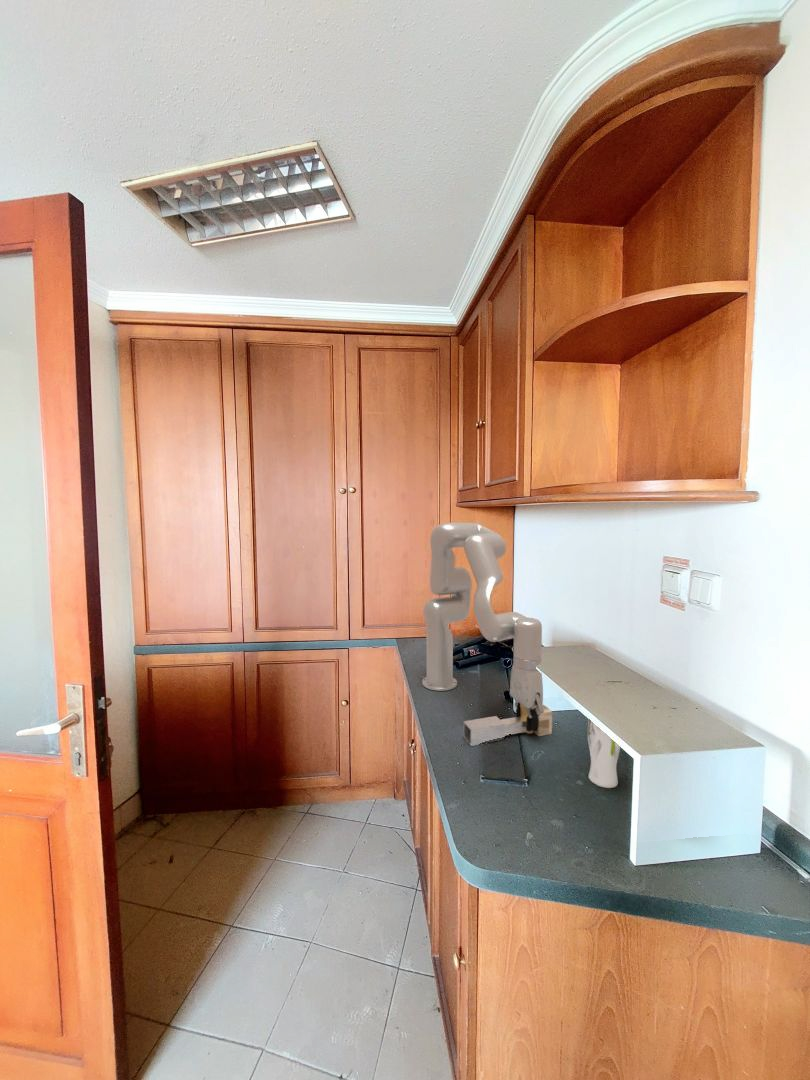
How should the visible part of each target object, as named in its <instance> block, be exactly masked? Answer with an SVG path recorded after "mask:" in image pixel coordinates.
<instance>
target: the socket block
mask: <svg viewBox="0 0 810 1080" xmlns="http://www.w3.org/2000/svg"><path fill="white" fill-rule="evenodd" d="M542 706H543V709H544V713H542V714H540V715H539V717H538V726H537V730H534V731H533V733H534V734H536V735H537V736H538V737H540V736H546V735H547V736H548V735H551V734H553V710H552V709H550V708H549V707H548V706H545V704H542ZM533 711H534V708H533Z"/></svg>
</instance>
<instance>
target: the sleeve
mask: <svg viewBox="0 0 810 1080" xmlns="http://www.w3.org/2000/svg"><path fill="white" fill-rule="evenodd" d="M505 736H506V735H505V724H504V723H503V722H502V721H501V719H500V718H499V717H498V716H497V715H495V716H488V717H483V718H482V717H481V718H476V719H469V720H464V721H463V738H464V739H465V740H466V742H467V743H468V744H469V746H470V747H474V746H475V747H476V746H480V745H479V744H480V743H482V742H485V741H489V740H493V739H497V738H502V737H505Z"/></svg>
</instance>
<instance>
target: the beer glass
mask: <svg viewBox="0 0 810 1080" xmlns="http://www.w3.org/2000/svg"><path fill="white" fill-rule="evenodd" d="M587 722H588V723H587V743H588V748H589V749H588V750H589V754H590V755H589V756H590V767H589V772H588V779H589V781H590V782H592V784H595V786H598V787H600V788H605V789H613V788H616V787H618V784H619V781H618V779H619V778H618V773H617V763H618V761H619V755H620V751H621V746H619V745H618V744H617V743H616V742H614V741H613V740H612V739H611V738H610V737H609V736H608V735H607V734H606V733H604V732H603V731H602V730H601V729H600V728H599V727H597V726H596V725H595V724H594V723H593V722H592V721H591V720H590V719H589V718H588V721H587Z"/></svg>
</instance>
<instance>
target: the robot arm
mask: <svg viewBox="0 0 810 1080" xmlns="http://www.w3.org/2000/svg"><path fill="white" fill-rule="evenodd" d="M429 538H430V539H429V540H430V541H429V543H430V551H431V561H430V576H429V588H430V591H431V592H432V594H434V595H435V596H441V597H435V598H432V599H429V600H428V601H427V602H426V603H425V604H424V606H423V617H424V618H423V619H424V621H425V632H426V634H425V635H426V637H425V638H426V639H425V640H426V676H425V677H423V678H422V680H421V682H422V683H421V685H423V687H424V688H426V689H427V690H431V691H436V692H442V691H443V692H445V691H450V690H454V689H455V688H456V687H458V686H457V685H458V680H457V679H456V678H454V677H453V675H454V669H453V668H454V665H453V664H454V659H453V658H454V656H453V654H454V650H453V649H454V639H453V638H454V636H453V633H452V631H451V629H450V627H449V626H448V624H452V623H456V622H462V621H465V620H466V619H467V618H468V616H469V614H470V609H471V599H472V589H473V588H472V586H473V582H472V581H473V580H472V576H471V574H470V572H469V571H468V570H467V569H466V568H465V567H462V566H456V555H455V552H454V549H455V548H463V550H464V553H465V555H466V558H467V562H468V564H469V566H470V567H469V568H470V569H471V570H470V571H471V572H472V575H473V577H474V580H475V584H476V590H475V593H474V596H473V614H474V618H475V621H476V623H477V627H478V629H479V632H480V633H481V635H482V636H483V637H484V639H485V640H487V641H489V642H492V643H496V642H501V641H505V640H511V639H513V662H512V667H511V671H510V683H509V685H510V686H509V694H510V696H511V697H512V698H513V699H514V707H515V717H520V704H522V705H523V706H524V707H526V708H527V711H528V717H527V721H526V730H527V731H534V730H537V726H538V717H539V715H540V714H542V713H544V709H543V706H542V704H543V702H544V686H543V685H544V684H543V676H542V675H543V674H542V672H541V673H540V672H539V671H538V670H537V669H536V666H537V665H539V664H540V663H541V664H542V654H543V653H542V647H543V646H542V645H543V644H542V643H543V642H542V641H543V638H542V637H543V627H542V626H543V624H542V622H541V621H540V620H539V619H538V618H537V619H536V618H533V617H527V616H525V615H524V614H521V613H519V612H515V611H508V612H502V613H497V614H495V612H494V609H493V606H492V602H491V597H492V593H493V591H494V588H496V587H497V586H498V585H499V584H500V583H502V582H503V579H504V574H503V572H502V570H501V567H500V564H499V562H498V560H497V559H501V558H503V557H504V555H505V554H506V551H507V545H506V544H507V543H506V541H505V539H504V538H503V537H502V536H501V535H500V534H499V533H497V532H496V531H493V530H492V529H489V528H487V527H485V525H483V524H480V523H478V522H446V523H444V522H443V523H440V524H439V525H436V526H435V527H434V528H433V529H432V531H431V534H430V537H429ZM453 548H454V549H453ZM446 595H449V596H446ZM450 595H451V596H450ZM442 596H443V597H442ZM543 705H544V704H543ZM531 708H534V711H531Z"/></svg>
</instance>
